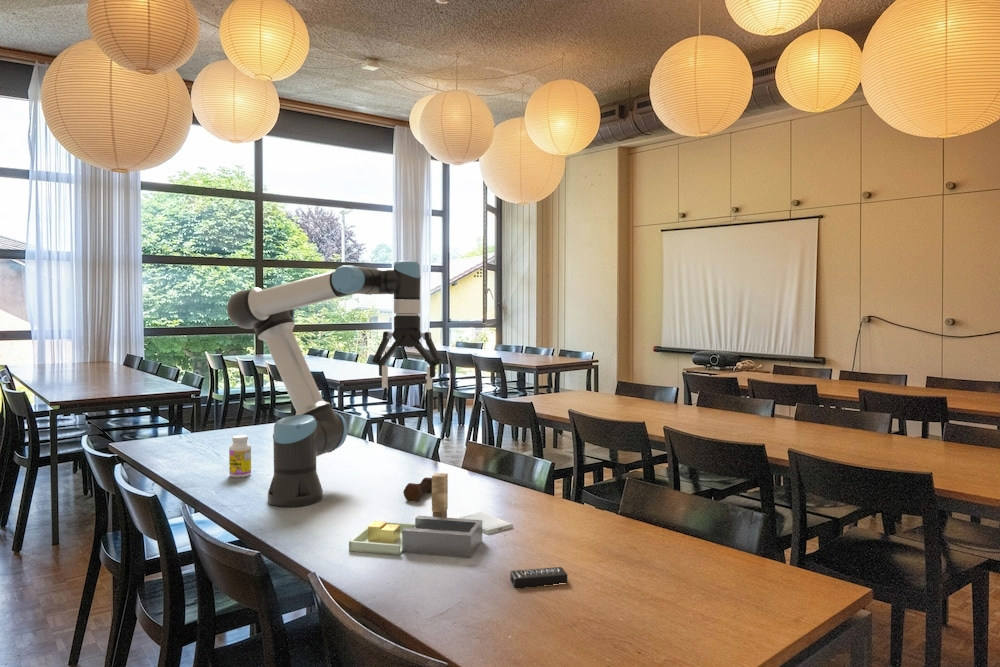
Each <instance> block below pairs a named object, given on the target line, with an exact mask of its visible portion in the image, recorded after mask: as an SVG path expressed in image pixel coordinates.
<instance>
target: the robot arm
mask: <svg viewBox="0 0 1000 667" xmlns="http://www.w3.org/2000/svg"><path fill="white" fill-rule="evenodd" d="M421 279H422V277H421V268H420V263H419V262H418V261H415V260H397V261H394V263H393V266H392V267H391V268H383V267H382V268H380V267H379V268H378V267H377V268H374V267H368V266H367V267H364V266H357V265H356V266H355V265H352V264H348V265H347V264H346V265H341V266H339V267H337V268H336V269H335V270H331V271H328V272H325V273H321V274H317V275H313V276H309V277H305V278H302V279H297V280H294V281H290V282H287V283H283V284H279V285H275V286H271V287H268V288H263V289H262V288H260V287H253V288H250V289H245V290H244V289H243V290H240V291H237V292H236V293H233V295H231V297H230V298H229V300H228V302H227V303H226V304H227V306H226V312H227V317H228V318H229V320H230V321H231V323H233V324H234V325H235V326H237V327H238V328H242V329H245V330H246V329H247V330H249V329H250V330H252V329H254V332H255V334H256V336H257V339H258V340H260V341H263V342H265V344H266V346H267V348H268V351H269V354H270V355H271V358H272V360H273V362H274V364H275V367H276V369H277V371H278V373H279V375H280V378H281V381H282V382H283V384H284V387H285V389H286V392H287V394H288V396H289V399H290V401H291V403H292V406H293V408H294V410H295V414H294V415H288V416H286V417H282V418H280V419H279V420H277V421H276V422H275V423H274V425H273V434H272V439H273V476H272V480H271V483H270V484H269V488H268V492H267V503H268V504H269V505H272V506H275V507H282V508H285V507H286V508H289V507H290V508H292V507H302V506H303V507H304V506H309V505H313V504H316V503H318V502H320V501H321V500H323V498H324V495H323V494H324V491H323V487H322V484H321V481H320V478H319V474H318V472H317V457H319V456H321V455H324V454H326V453H328V454H329V453H332V452H334V451H335V450H337V449H339V448H340V447H341V446H342V445H343V444H344V443H345V441H346V439H347V436H348V429H349V428H348V424H347V421H346V419H345V417H344V416H343V415H342V414H340V413H338V412H336V411H334V409H333V407H332V404H331V403H330V402H328V401H325V400H324V399H323V397H322V395H321V392H320V390H319V387H318V386H317V383H316V381H315V378H314V377H313V374H312V372H311V370H310V367H309V365H308V364H307V360H306V358H305V355H304V354H303V352H302V350H301V348H300V345H299V343H298V340H297V339H296V336H295V334H294V332H293V330H294V328H295V326H296V325H295V320H294V318H295V315H294V314H296V310H295V309H299V308H302V307H303V308H304V307H306V306H310V305H314V304H318V303H322V302H326V301H330V300H334V299H337V298H343V297H347V296H351V295H355V294H358V295H359V294H361V295H369V296H371V295H393V313H394V314H395V315H394V316H393V332H391V331H388V330H386V331H383V332H382V339H381V342H380V344H379V346H378V348H377V350H376V352H375V354H374V356H373V358H372V363H375V364H377V365H378V376H379V377H381V389H386V388H388V384H389V381H388V380H389V379H388V378H389V374H388V372H389V370H388V369H389V365H388V364H386V363H387V362H388V360H389V359H390V358H391V357H392V356H393V355H394V353H395V352H396V351H397V350H398V349H399V348H405V347H406V348H415V350H417V352H418V353H419V354H420V356H421V357H422V358H423V359H424V360H425V362H426V363H427V364H428V366H426V390H427V391H428V390H432V389H433V378H435V377H436V367H437V366H438V365H441V364H442V363H443V361H442V358H441V357H440V355H439V351H438V350H437V348H436V345H435V344H434V342H433V338H432V333H431V331H425V332H421V316H420V315H419V314H420V313H421ZM392 337H393V338H392ZM421 338H422V340H423V341H425V344H426V346H427V347H428V350H429V352H430V354H431V355H430V354H429V352H428V351H427V350H426V348H424V346H423V344H422V343H421V341H420V340H421ZM391 339H394V342H392V344H391V346H390V347H389V349H388V350H387V351H386V349H387V348H386V347H387V346H388V344H389V341H390V340H391ZM385 351H386V352H385ZM384 352H385V353H384ZM383 354H384V355H383Z"/></svg>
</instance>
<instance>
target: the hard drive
mask: <svg viewBox="0 0 1000 667" xmlns="http://www.w3.org/2000/svg"><path fill="white" fill-rule="evenodd" d="M457 518H458V519H472V520H482V533H483V532H484V533H483V534H486V535H490V533H491V534H493V532H494V533H498V532H501V530H502V531H505V530H504V529H506V530H509V529H512V528H511V527H513V528H514V524H513V523H511V522H508V521H505V520H502V519H500V518H498V517H495V516H493V515H490V514H488V513H485V512H482V511H480V512H477V513H473V514H468V515H465V516H464V515H463V516H461V517H457ZM508 528H509V529H508ZM497 531H498V532H497Z"/></svg>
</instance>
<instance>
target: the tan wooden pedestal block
mask: <svg viewBox="0 0 1000 667" xmlns="http://www.w3.org/2000/svg"><path fill="white" fill-rule="evenodd" d="M448 475H449V474H448V473H443V472H442V473H441V472H440V473H439V472H435V473H434V474H432V476H431V478H432V493H431V513H432V517H444V518H448V507H449V504H448V502H449V501H448V497H449V495H448V492H449V491H448V490H449V488H448V485H449V483H448V482H449V481H448V477H449V476H448Z"/></svg>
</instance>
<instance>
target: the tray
mask: <svg viewBox="0 0 1000 667" xmlns="http://www.w3.org/2000/svg"><path fill="white" fill-rule="evenodd" d="M385 522H386V524H391V525H400V538H399V539H398V540H397V541H396V542H395V543H383V542H375V541H368V526H367V527H365V528H364V529H363V530H362V531H360V532H359V533H358V534H357V535H355V536H354V537H352V539H350V540H349V541H348V552H352V551H357V552H356V553H364V552H370V553H369V554H376V553H379V554H380V555H388V554H391V556H400V555H401V554H402V553H403V552H402V530H403V529H404V528H414V527H415V523H406V522H405V523H404V522H393V521H392V522H391V521H385ZM379 554H378V555H379Z"/></svg>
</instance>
